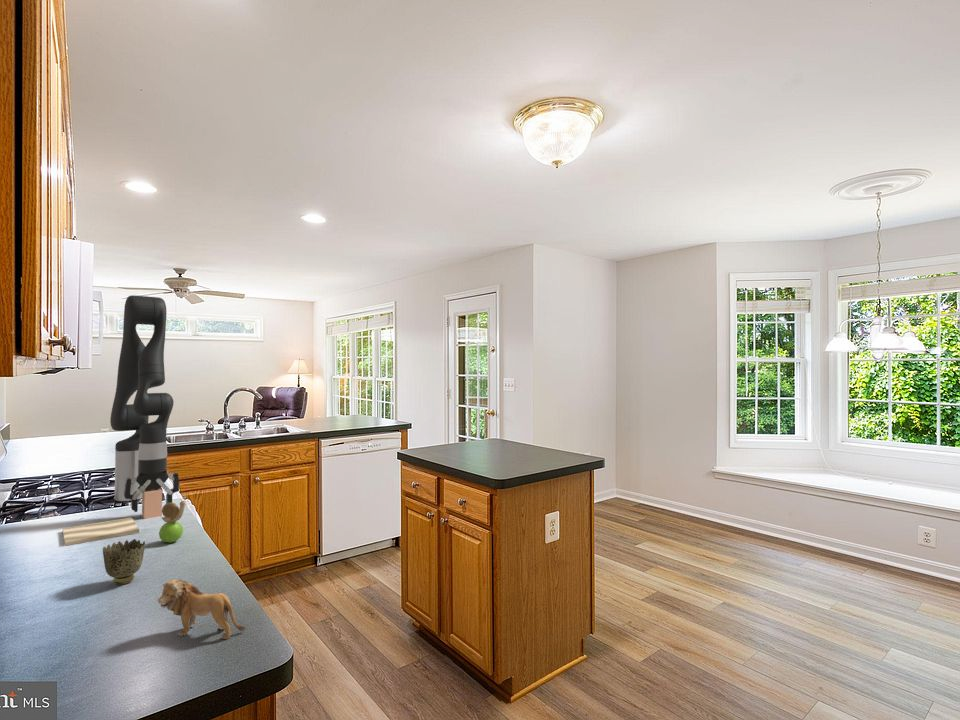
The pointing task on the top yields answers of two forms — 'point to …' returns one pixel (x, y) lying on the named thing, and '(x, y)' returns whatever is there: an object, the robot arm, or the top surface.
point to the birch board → (99, 531)
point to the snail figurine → (172, 522)
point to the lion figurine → (197, 605)
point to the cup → (123, 560)
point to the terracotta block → (152, 503)
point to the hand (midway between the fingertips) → (152, 508)
